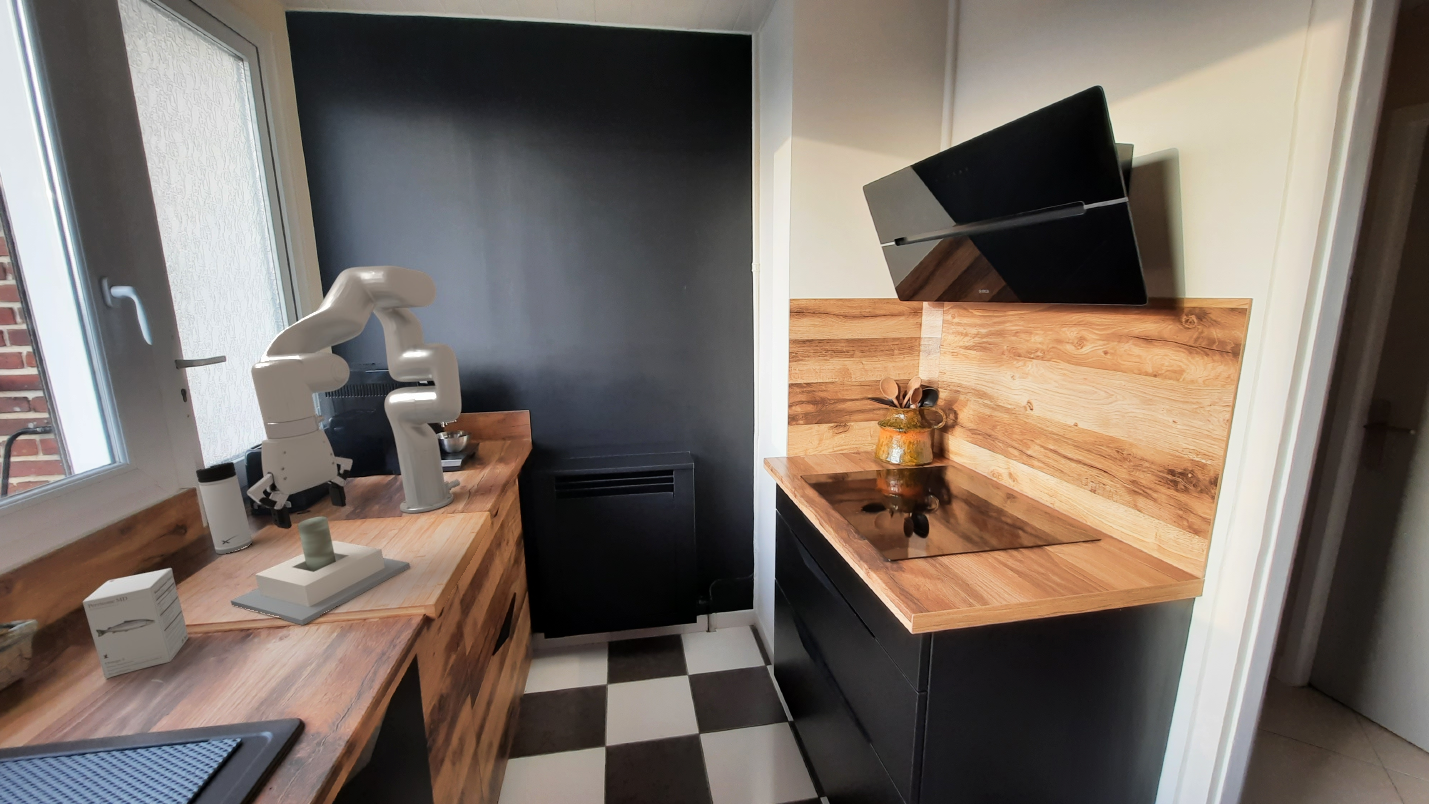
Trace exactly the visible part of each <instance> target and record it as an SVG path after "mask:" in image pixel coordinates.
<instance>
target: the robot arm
mask: <svg viewBox="0 0 1429 804" xmlns="http://www.w3.org/2000/svg"><path fill="white" fill-rule="evenodd" d="M436 286H437V285H436V284H435V282H434V280H433V278H432V277H431V276H430V274H428V273H426V272H424V271H422V270H417V269H412V268H406V267H402V266H397V265H373V266H372V265H370V266H355V267H354V266H353V267H350V268H349V267H348V268H346V269H344V270H343V271H341V272H340V273H339V275H338V276H337V277H336V279H335V280H334V282H333V284H332V285H331V287H330V289H329V291H328V292H327V293H326V295H325V296H324V298H323V300H322V301H321V304H320V305H319V307H318V309H317V310H315V311H314V312H312V313H310V314H308V315H306V316H304V317H303V318H301V319H299V320H298V321H296V322H295V323H293V324H291V325H290V326H288V327H286V328H285V329H283V330H282V331H280V332H279V333H278V334H277V335H276V336H275V337H274V338H273V339H272V340H271V341H270V343H269V344H268V346H267V348H266V349H265V350H264V352H263V353H262V355H261V356H260V358H259V361H258V362H256V363H254V364H253V365H252V367H251V368H250V369H251V370H250V373H251V378H252V381H253V385H254V390H255V394H256V398H257V402H258V406H259V409H260V415H261V418H262V423H263V426H264V430H265V435H266V439H264V440H262V441H261V468H262V474H263V477H262V478H261V479H260V480H258V481H257V482H256V483H255V484H253V485H252V486H251V487H250V488H249V489H248V490H247V491H246V494H247V496H249V498H251V499H252V500H253V501H254V502H256V504H258V505H260V506H264V507H266V508H268V509H270V512H271V517H272V520H273V524H274V525H275V526H276V527H277V528H278V529H284V530H289V529H291V528H292V521H291V517H290V512H289V509H288V507H287V506H284V505H285V504H286V502H287V500H288V498H289V496H290V495H292V494H293V495H294V494H296V493H299V492H302V491H305V490H309V489H310V488H311V489H312V488H313V487H316V486H319V485H323V484H325V483H328V484H330V485H328V493H329V496H330V497H329V498H330V502H331V505H332V506H335V507H341V508H344V507H346V506H347V502H346V500H347V497H346V491H345V488H344V487H345V486H346V484H347V479H348V477H349V476H350V475H351V469H352V465H353V459H351V458H346V457H339V456H335V454H334V450H333V447H332V446H331V443H330V441H329V439H328V436H327V435H326V433H325V431H324V429H322V428H321V423H322V422H325V416H324V415H323V414H319V415H318V413H317V411H316V407H315V402H314V398H313V397H314V396H313V394H317V393H328V392H333V391H336V390H337V391H338V390H339V389H341V388H342V387H344V385H345V384H347V382H348V381H349V378H350V373H351V372H350V367H349V364H348V363H347V361H346V360H345V359H344V358H343V357H342V356H340V355H338V354H335V353H331V352H319V351H322V350H324V349H327V348H330V347H333V346H336V345H339V344H342V343H345V342H347V341H350V340H352V339H354V338H355V337H358V336H359V335H360V334H361V333H362V332H363V331H364V329H365V327H366V325H367V323H368V321H369V319H370V317H371V315H372V313H373V314H374V315H375V317H376V318H377V319H378V320H379V322H380V323H381V324H380V325H381V326H382V328H383V334H384V341H385V342H384V343H385V351H386V359H387V360H386V361H387V368H388V373H389V375H390V377H391V378H392V379H393V380H395V381H397V382H402V383H403V382H404V383H405V382H406V383H409V382H411V383H412V382H415V383H416V382H429V381H430V382H431V381H433V383H434V385H427V386H423V385H419V386H407V387H400V388H397V389H394V390H392V391H390V392H389V393H388V394H387V395H386V397H385V400H384V411H385V414H386V416H387V419H388V421H389V423H390V426H391V429H392V433H393V436H394V442H395V446H396V453H397V458H398V463H399V470H400V474H401V480H402V487H403V492H404V497H405V500H404V501H402V502H401V503H400V504H399V510H400V511H401V512H403V513H408V514H416V513H417V514H418V513H423V512H430V511H434V510H437V509H441V508H443V507H445V506H447V505H449V504H451V503H452V502H453V501H454V499H455V498H454V494H453V493H452V492H450V491H452V489H455V488H457V487H459V486H460V485H461V481H460V480H459V479H454V480H452V481H450V482H449V481H448V480H445V475H444V472H443V463H442V458H441V457H442V456H441V451H440V445H439V439H438V436H437V434H436V432H435V431H434V429H433V428H432V427H431V426H430V425H429V424H435V423H448V422H453V421H456V420H457V419H458V418H459V417H460V415H461V412H462V396H461V395H462V394H461V385H460V374H459V373H460V372H459V364H458V360H457V356H456V354H455V351H454V350H453V348H452V347H451V346H450V345H448V344H446V343H441V342H431V343H426V342H425V341H424V331H423V326H422V322H421V321H420V319H419V318H418V317H417V315H415V313H413V311H411V310H410V309H411V308H425V307H426V308H427V307H429V306H431V305H432V304H433V303H434V302H435V301H436V299H437V298H436V297H437V287H436ZM409 308H410V309H409ZM337 464H338V465H340V469H339V471H338V465H337ZM265 490H266V491H267V492H268V493H271V494H270V496H269V497H266V496H265V494H264V493H263V492H264V491H265Z"/></svg>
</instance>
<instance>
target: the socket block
mask: <svg viewBox="0 0 1429 804" xmlns="http://www.w3.org/2000/svg"><path fill="white" fill-rule="evenodd" d="M332 545H333V550H334V554H335V559H336V562H334V563H332V564H330V565H328V566H325V567H323V568H321V569H319V570H317V571H315V572H312V571H308V570H307V566H306V561H305V556H304V553H301V554H299V555H297V556H294V557H293V558H290V559H287V560H286V561H283V562H281V563H279V564H276V565H274V566H272V567H269V568H267V569H264V570H262V571H260V572H258V573H255V575H254V576H255V580H256V584H257V588H256V589H252V590H251V591H249V592H246V593H245V594H241V595H239V596H238V597H236V598H233V599H231V600H230V603H231V606H232V605H234V606H233V607H235V606H238V607H237V608H239V607H242V608H246V609H250V610H254V611H258V612H262V613H265V614H270V615H274V616H279V617H281V618H282V619H284V620H283V621H285V622H290V623H293V624H297V625H300V626H304V625H306V624H308V623H310V622H312V621H314V620H315V619H317V618H319V617H321V616H322V615H321V614H323V613H324V612H326V611H328V610H330V611H332V610H334V609H336V608H337V607H336V606H338V607H339V605H340V606H342V605H343V604H346V602H349V601H350V600H353V599H354V598H356V597H359V595H361V594H363V593H366V592H368V591H369V590H371V589H373V588H374V587H376V586H378V585H380V584H382V583H384V582H386V581H388V580H389V579H390V578H393V577H394V576H397V575H398V574H400V573H402V572H404V571H405V570H408V569H409V568H411V565H410V562H408V561H403V560H402V561H401V560H397V559H392V558H386V557H383V551H382V548H377V547H371V546H365V545H362V544H361V545H360V544H357V543H356V544H354V543H349V542H344V541H340V540H332ZM335 607H336V608H335ZM242 608H241V609H242ZM333 608H334V609H333ZM246 609H245V610H246ZM331 609H332V610H331ZM250 610H249V611H250ZM320 615H321V616H320ZM323 615H324V614H323ZM282 619H281V620H282Z"/></svg>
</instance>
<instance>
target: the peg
mask: <svg viewBox="0 0 1429 804" xmlns="http://www.w3.org/2000/svg"><path fill="white" fill-rule="evenodd" d="M297 528H298V533H299V537H300V542H301V547H302V550H303V554H304V556H305V561H306V566H307V570H308V571H312V572H315V571H317V570H319V569H321V568H323V567H325V566H328V565H330V564H332V563H334V562H336V559H335V554H334V550H333V545H332V541H333V540H332V536H331V531H330V526H329V521H328V517H326V516H316V517H310V518H307V519H305V520H302V521H300V522H299V523H298V524H297Z"/></svg>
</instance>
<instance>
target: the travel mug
mask: <svg viewBox="0 0 1429 804" xmlns="http://www.w3.org/2000/svg"><path fill="white" fill-rule="evenodd" d="M195 473H196V477H197V481H198V482H197V483H198V487H199V490H200V494H201V498H202V503H203V507H204V511H205V514H206V518H207V522H208V526H209V531H210V534H211V538H212V541H213V542H212V543H213V546H214V550H215V553H216V554H217V555H218V554H219V555H227V554H226V553H229V552H232V551H235V550H238V549H241V548H243V547H245V546H248V545H249V544H251V543H252V541H253V537H252V533H251V529H250V525H249V521H248V517H247V516H248V515H247V513H246V509H245V504H244V499H243V496H242V491H241V487H240V482H239V480H238V478H239V477H238V474H237V473H236V467H235V463H234V462H233V461H229V462H223V463H219V464H215V465H214V464H213V465H210V466H209V467H206V468H203V469H202V468H200V469H197V470H195ZM252 544H253V543H252ZM229 554H230V553H229Z"/></svg>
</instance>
